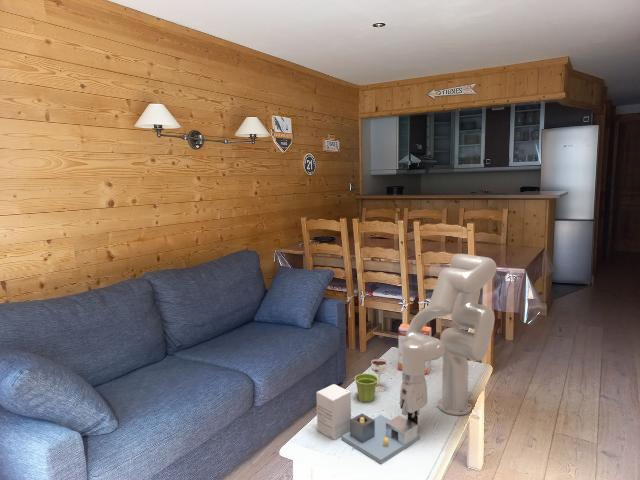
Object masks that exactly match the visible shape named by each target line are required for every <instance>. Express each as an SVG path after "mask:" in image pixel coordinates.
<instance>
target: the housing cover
mask: <svg viewBox="0 0 640 480" xmlns="http://www.w3.org/2000/svg"><path fill="white" fill-rule="evenodd" d="M397 434H398V442H400V443H401V444H403V445H405V444H407V443H408V442H410V441H411V440H413V439H414V438H416V437H417V434H418V426H417V424H415V423H413V422H411V421H409V420H408V418H405V417H403V416H401V415H397V416H395V417H394V418H392V419H390V421H388V422H386V435H387V436H389V437H391V438H392V437H394V436H395V435H397Z"/></svg>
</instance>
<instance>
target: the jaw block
mask: <svg viewBox="0 0 640 480" xmlns="http://www.w3.org/2000/svg"><path fill="white" fill-rule="evenodd" d="M361 417H363V418H364V423H360V418H361ZM373 419H374V418H372V417H369V416H367V415H366V414H364V413H360V414H358V415H356V416H354V417H351V419H350V431H349V432H350V436H351V437H353V438H355V439H356V440H358V441H359V442H361V443H364V442H366V441H368V440H369V439H371V438H373V437H375V420H373Z"/></svg>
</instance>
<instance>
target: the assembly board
mask: <svg viewBox="0 0 640 480" xmlns="http://www.w3.org/2000/svg"><path fill="white" fill-rule="evenodd" d="M372 419H373V420H375V437H373V438H371V439H369V440H368V441H366V442H364V443H361V442H359V441H358V440H356V439H355V438H353V437H351V436H350V431H349V432H347V433H346V434H344V435H342V436H341V441H343V442H345V443H346V444H348V445H350V446H351V447H353V448H354V449H356V450H358V451H359V452H360V453H362V454H364V455H365V456H367V457H368V458H369V459H372V460H373V461H375V462H376V463H378V464H379V465H382V464H383V463H385V462H387V461H389V460H390V459H391V458H393V457H394V456H396V455H397V454H399V453H401V452H402V451H404V450H406V449H407V448H409V447H410V446H411V445H413V444H414V443H416V442H418V441H419V440H420V439H421V435H420V434H418V433H417V437H416V438H414V439H413V440H411V441H410V442H408V443H407V444H405V445H403V444H401V443H400V442H398V434H397V435H395V436H394V437H392V438H391V437H389V436H387V435H386V422H388V421H390V420H391V419H390V418H388V417H386V416H384V415H382V414H379V415H377V416H376V417H374V418H372ZM360 423H364V418H363V417H361V418H360Z"/></svg>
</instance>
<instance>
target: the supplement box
mask: <svg viewBox="0 0 640 480" xmlns="http://www.w3.org/2000/svg"><path fill="white" fill-rule="evenodd" d="M315 396H316V419H317V421H316V426H317V431H318V432H319V433H322V434H323V435H325V436H326V437H328V438H330V439H332V440H334V441H335V440H337V439H339V438H340V437H341V438H342V435H344V434H346V433H348V432H350V419H352V401H351V399H352V398H351V391H350V390H348V389H345V388H343V387H341V386H339V385H337V384H335V383H333V384H331V385H329V386H327V387H324V388H322V389H320V390H318V391H316V395H315Z"/></svg>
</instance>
